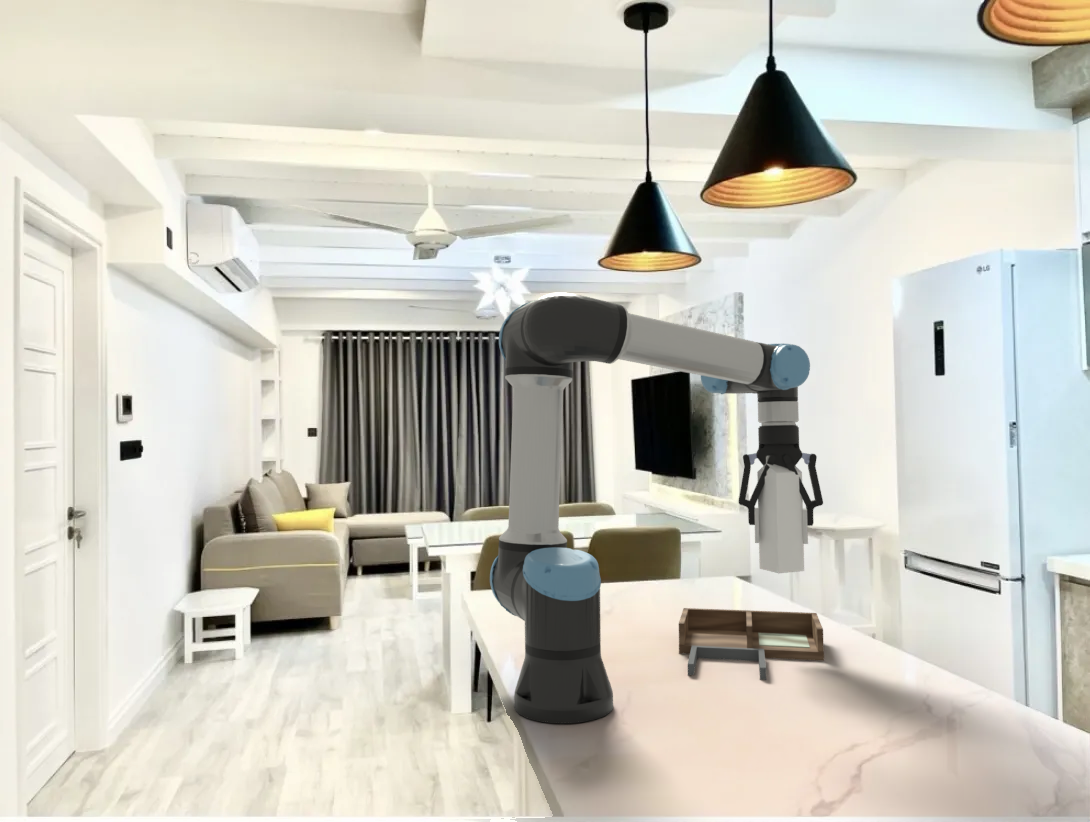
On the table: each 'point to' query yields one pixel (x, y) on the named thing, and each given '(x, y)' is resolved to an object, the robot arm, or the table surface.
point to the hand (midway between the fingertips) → (781, 542)
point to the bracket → (727, 656)
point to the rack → (753, 632)
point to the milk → (781, 521)
